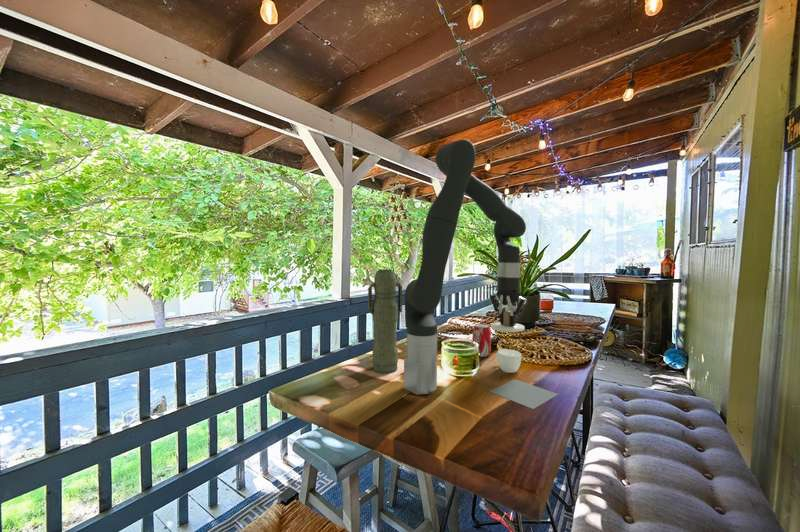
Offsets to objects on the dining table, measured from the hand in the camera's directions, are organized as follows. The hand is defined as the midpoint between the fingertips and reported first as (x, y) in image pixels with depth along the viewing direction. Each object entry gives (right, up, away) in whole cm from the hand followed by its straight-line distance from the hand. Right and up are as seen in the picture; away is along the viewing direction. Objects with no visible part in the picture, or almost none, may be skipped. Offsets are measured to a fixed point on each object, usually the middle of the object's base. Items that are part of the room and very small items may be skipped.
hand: (507, 325), depth 116 cm
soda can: (-5, -15, +18) cm, 24 cm away
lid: (0, -1, 0) cm, 1 cm away
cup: (0, -16, +1) cm, 16 cm away
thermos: (-42, -16, +2) cm, 46 cm away
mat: (-1, -17, -18) cm, 25 cm away
